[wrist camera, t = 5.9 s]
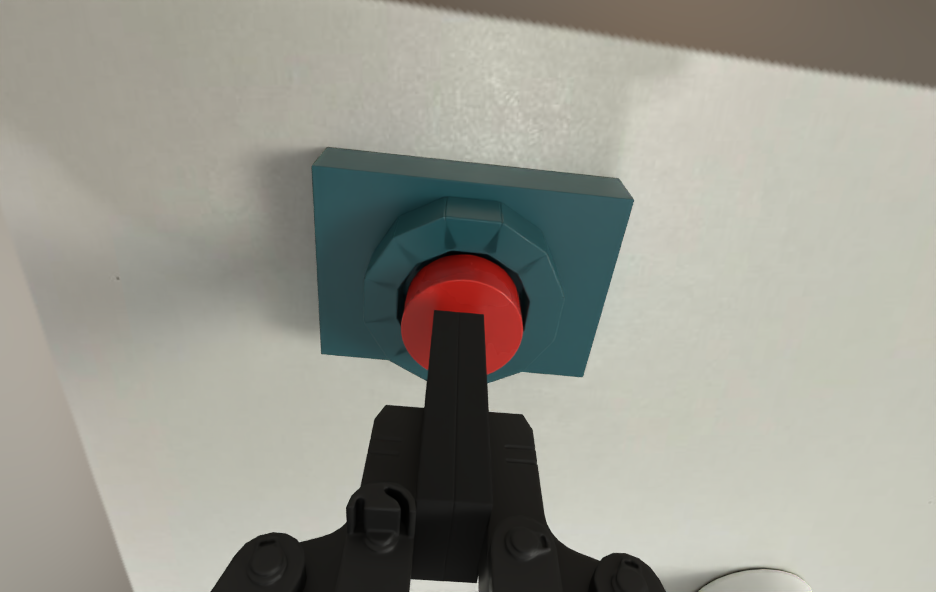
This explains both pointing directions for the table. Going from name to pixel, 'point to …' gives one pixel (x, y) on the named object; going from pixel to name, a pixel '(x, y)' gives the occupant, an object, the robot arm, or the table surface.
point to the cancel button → (463, 306)
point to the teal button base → (463, 249)
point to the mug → (758, 582)
